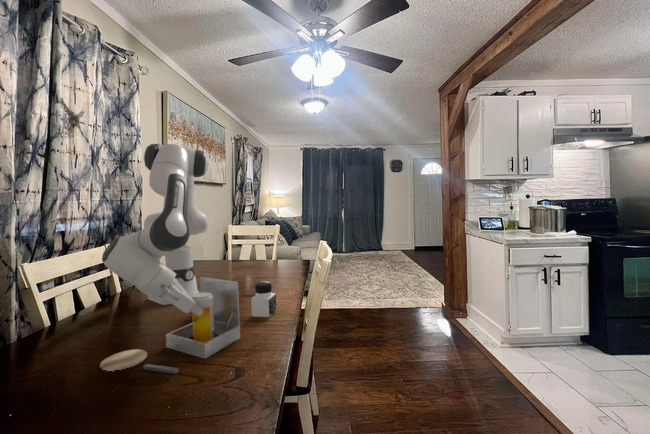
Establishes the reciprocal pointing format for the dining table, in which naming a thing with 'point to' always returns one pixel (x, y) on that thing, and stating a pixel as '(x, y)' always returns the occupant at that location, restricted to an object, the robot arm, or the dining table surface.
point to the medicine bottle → (263, 300)
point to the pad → (123, 360)
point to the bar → (161, 368)
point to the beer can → (203, 318)
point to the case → (223, 321)
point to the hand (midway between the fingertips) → (197, 308)
